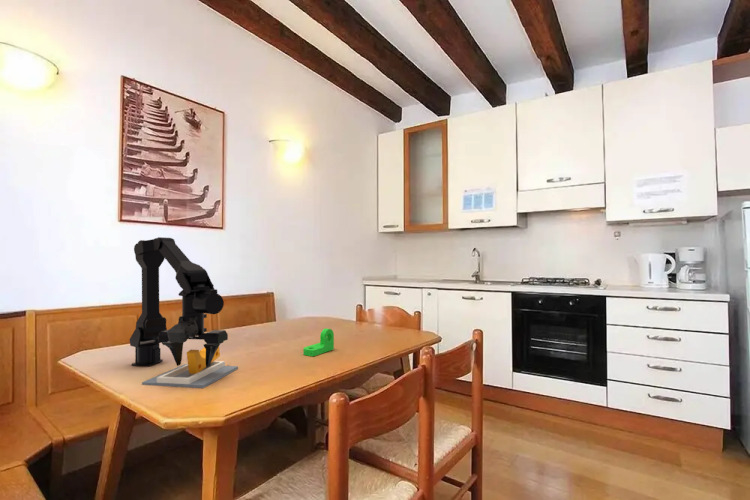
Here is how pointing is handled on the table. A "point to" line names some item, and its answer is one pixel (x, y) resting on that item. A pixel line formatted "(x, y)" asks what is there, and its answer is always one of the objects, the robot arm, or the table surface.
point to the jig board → (192, 376)
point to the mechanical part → (321, 344)
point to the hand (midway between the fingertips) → (193, 366)
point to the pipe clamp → (199, 360)
